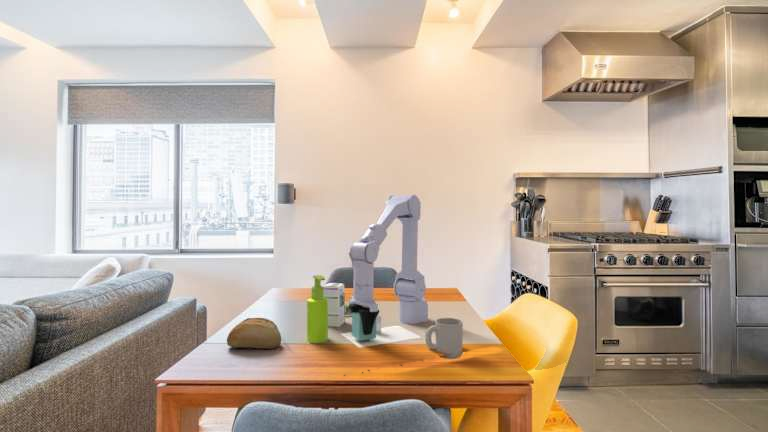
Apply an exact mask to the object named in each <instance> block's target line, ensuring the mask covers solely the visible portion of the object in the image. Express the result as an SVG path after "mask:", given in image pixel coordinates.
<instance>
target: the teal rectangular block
mask: <svg viewBox="0 0 768 432" xmlns="http://www.w3.org/2000/svg"><path fill="white" fill-rule="evenodd" d="M351 321H352V322H351V332H352V336H353V337H355V338H356V339H358V340H366V339H374V338H376V319H375V322H374V325H373V330H372V333H371V334H369V335H364V333H363V326H362V320H361V316H360V314H359V312H353V313H352V317H351Z"/></svg>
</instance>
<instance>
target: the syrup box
mask: <svg viewBox="0 0 768 432" xmlns="http://www.w3.org/2000/svg"><path fill="white" fill-rule="evenodd" d="M322 287H323V298H327V299H328V327H337V328H339V327H341V326H342V325H344V324H345V323H346V318H345V305H346V302H345V300H346V298H345V295H346V294H345V293H346V292H345V283H341V282H339V283H338V282H329V283H327V284H325V285H323V286H322Z"/></svg>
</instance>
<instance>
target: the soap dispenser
mask: <svg viewBox="0 0 768 432" xmlns="http://www.w3.org/2000/svg"><path fill="white" fill-rule="evenodd" d="M312 278H313V279H314V285H313V286H311V297H310V298H307V300H306V341H307V343H310V344H322V343H325V342H327V341H328V339H329V333H328V332H329V330H328V329H329V326H328V299H327V298H323V286H322V284H321V281H326V278H325V277H324V276H323V275H321V274H319V275H318V274H317V275H312Z"/></svg>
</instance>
